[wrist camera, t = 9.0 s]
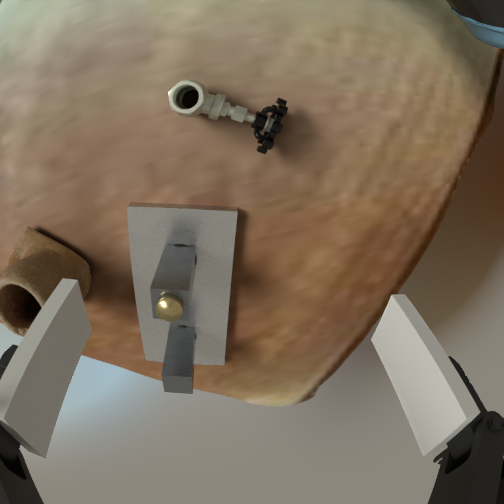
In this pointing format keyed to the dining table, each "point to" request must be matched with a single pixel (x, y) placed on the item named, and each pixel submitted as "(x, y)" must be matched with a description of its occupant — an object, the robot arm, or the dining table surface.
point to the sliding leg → (173, 284)
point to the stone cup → (36, 278)
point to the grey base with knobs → (204, 289)
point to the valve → (230, 111)
